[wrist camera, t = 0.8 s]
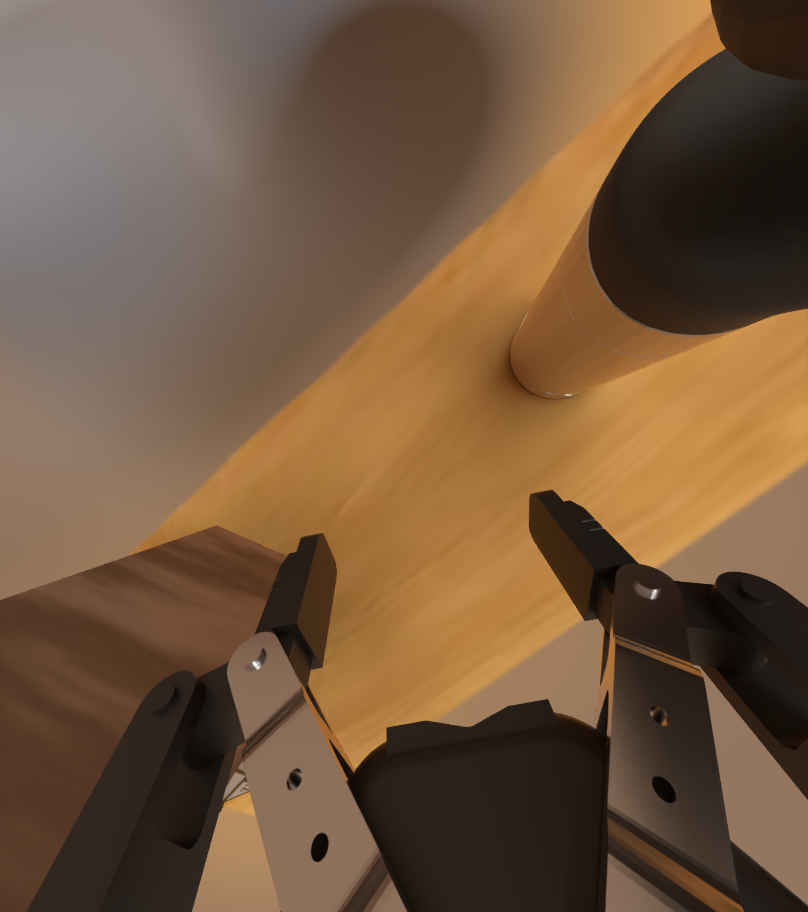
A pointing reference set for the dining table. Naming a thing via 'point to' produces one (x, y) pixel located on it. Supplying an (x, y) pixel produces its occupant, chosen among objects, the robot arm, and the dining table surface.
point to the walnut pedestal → (106, 676)
